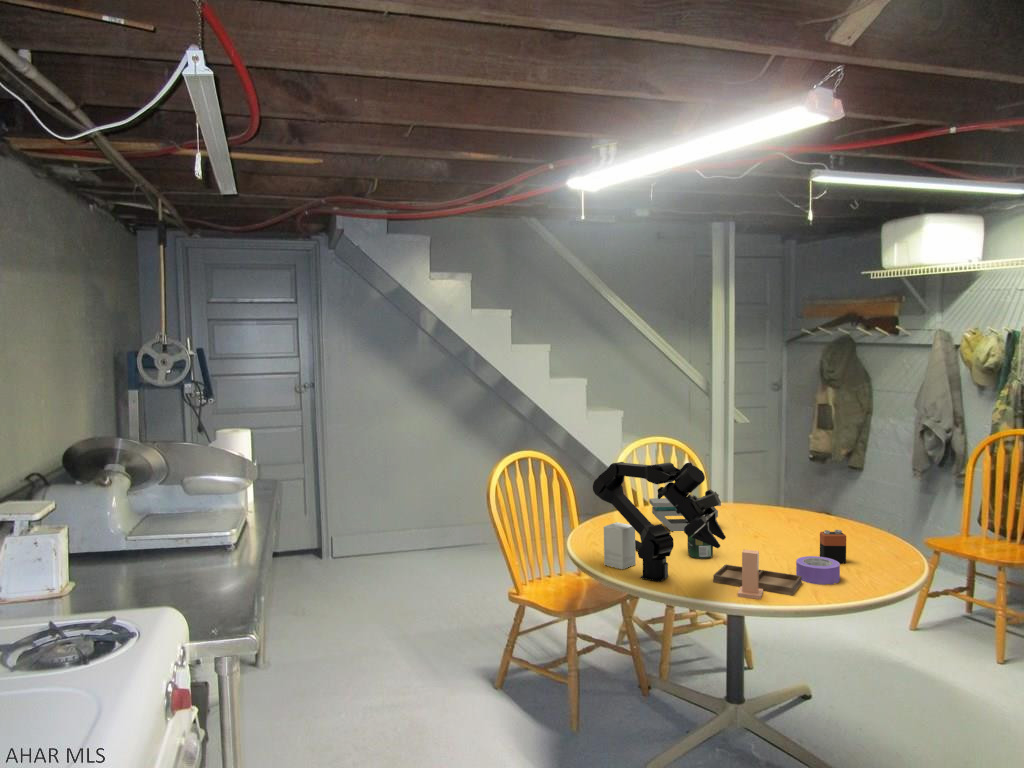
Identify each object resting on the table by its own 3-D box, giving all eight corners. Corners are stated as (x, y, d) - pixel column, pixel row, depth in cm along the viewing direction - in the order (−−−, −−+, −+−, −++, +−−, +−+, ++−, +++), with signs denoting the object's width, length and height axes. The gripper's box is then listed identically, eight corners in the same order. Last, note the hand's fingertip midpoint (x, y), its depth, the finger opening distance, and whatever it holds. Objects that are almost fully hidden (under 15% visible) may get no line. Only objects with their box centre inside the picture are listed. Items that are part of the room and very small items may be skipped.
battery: (846, 563, 223) (846, 532, 222) (824, 563, 223) (824, 532, 223) (841, 559, 227) (841, 528, 226) (819, 559, 227) (819, 528, 227)
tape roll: (804, 585, 204) (804, 567, 204) (790, 572, 216) (790, 555, 216) (846, 585, 204) (846, 567, 203) (830, 572, 215) (830, 555, 215)
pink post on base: (737, 596, 195) (737, 553, 195) (740, 589, 201) (740, 547, 200) (760, 599, 193) (760, 555, 192) (763, 592, 198) (763, 549, 198)
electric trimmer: (640, 547, 246) (639, 538, 245) (662, 559, 231) (662, 549, 231) (630, 548, 245) (629, 539, 244) (652, 560, 230) (651, 551, 230)
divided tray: (713, 581, 208) (713, 575, 208) (725, 570, 218) (725, 564, 217) (792, 595, 195) (792, 588, 195) (801, 582, 205) (801, 576, 205)
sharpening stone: (714, 525, 272) (714, 497, 271) (721, 530, 264) (720, 501, 264) (649, 526, 272) (649, 498, 271) (653, 532, 264) (653, 503, 264)
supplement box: (636, 564, 225) (636, 525, 224) (622, 570, 220) (622, 529, 219) (617, 560, 230) (617, 521, 230) (603, 565, 225) (602, 525, 224)
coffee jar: (685, 550, 239) (685, 496, 238) (709, 551, 239) (709, 496, 238) (689, 559, 230) (689, 502, 229) (715, 559, 229) (714, 502, 228)
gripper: (696, 488, 192) (738, 532, 188) (708, 476, 209) (747, 517, 205) (667, 514, 196) (708, 559, 192) (681, 501, 213) (719, 541, 209)
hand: (722, 542), depth 199 cm, fingers open, 9 cm apart
